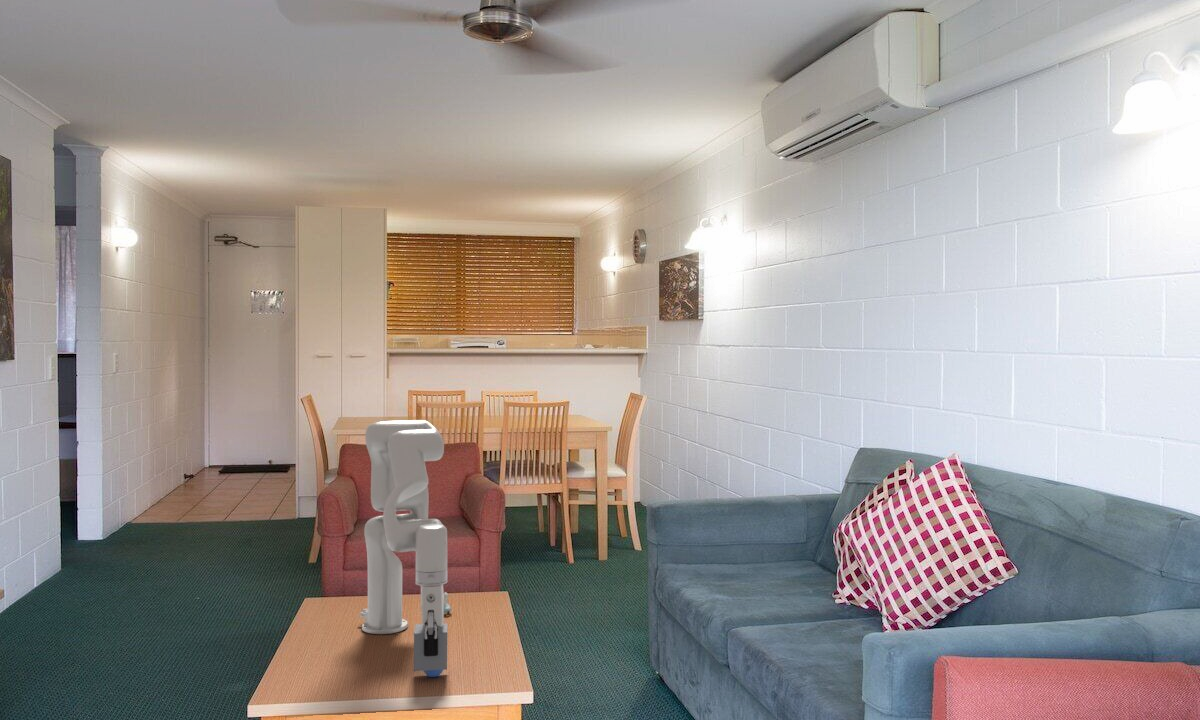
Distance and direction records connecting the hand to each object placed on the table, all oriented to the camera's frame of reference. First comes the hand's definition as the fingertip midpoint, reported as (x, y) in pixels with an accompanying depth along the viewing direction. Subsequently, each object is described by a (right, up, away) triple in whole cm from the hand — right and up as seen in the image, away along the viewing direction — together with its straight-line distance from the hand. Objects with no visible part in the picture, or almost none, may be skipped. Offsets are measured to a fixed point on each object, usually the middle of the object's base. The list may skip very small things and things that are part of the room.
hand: (431, 649), depth 221 cm
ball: (0, -4, 0) cm, 4 cm away
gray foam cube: (0, -4, 0) cm, 4 cm away
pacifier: (-7, -6, +54) cm, 55 cm away
